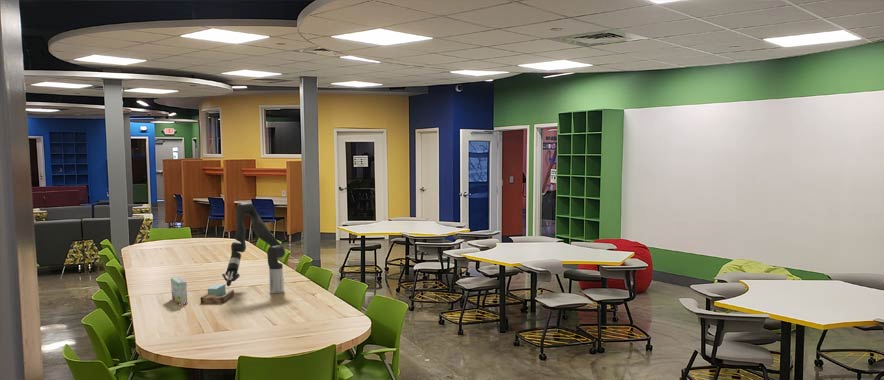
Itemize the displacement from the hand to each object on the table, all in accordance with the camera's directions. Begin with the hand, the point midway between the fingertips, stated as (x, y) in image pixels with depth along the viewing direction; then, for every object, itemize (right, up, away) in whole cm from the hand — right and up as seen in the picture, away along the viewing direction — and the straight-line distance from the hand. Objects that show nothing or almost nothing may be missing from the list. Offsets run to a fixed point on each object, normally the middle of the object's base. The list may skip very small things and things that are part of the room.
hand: (228, 285), depth 432 cm
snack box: (-24, -7, -25) cm, 35 cm away
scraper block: (-2, -6, -15) cm, 16 cm away
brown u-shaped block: (0, -6, -20) cm, 21 cm away
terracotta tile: (-3, -7, -25) cm, 26 cm away
